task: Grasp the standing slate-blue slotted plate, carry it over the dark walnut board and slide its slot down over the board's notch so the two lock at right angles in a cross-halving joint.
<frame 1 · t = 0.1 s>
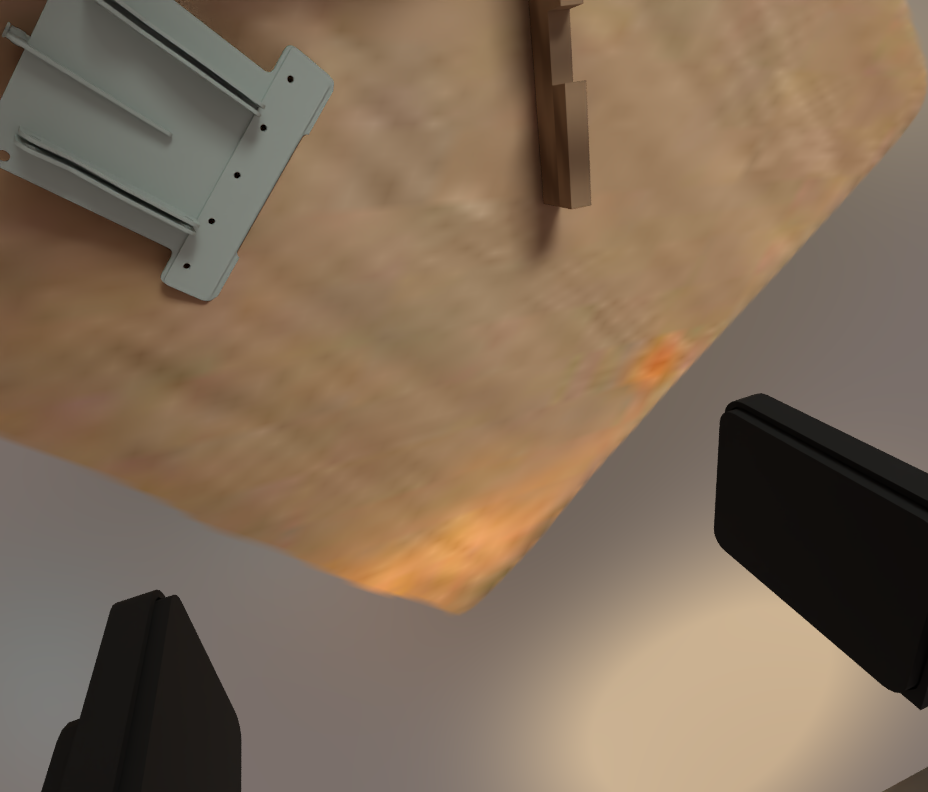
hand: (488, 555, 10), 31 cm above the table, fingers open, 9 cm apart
walnut board: (542, 53, 37), on the table
metal bracket: (164, 128, 32), on the table
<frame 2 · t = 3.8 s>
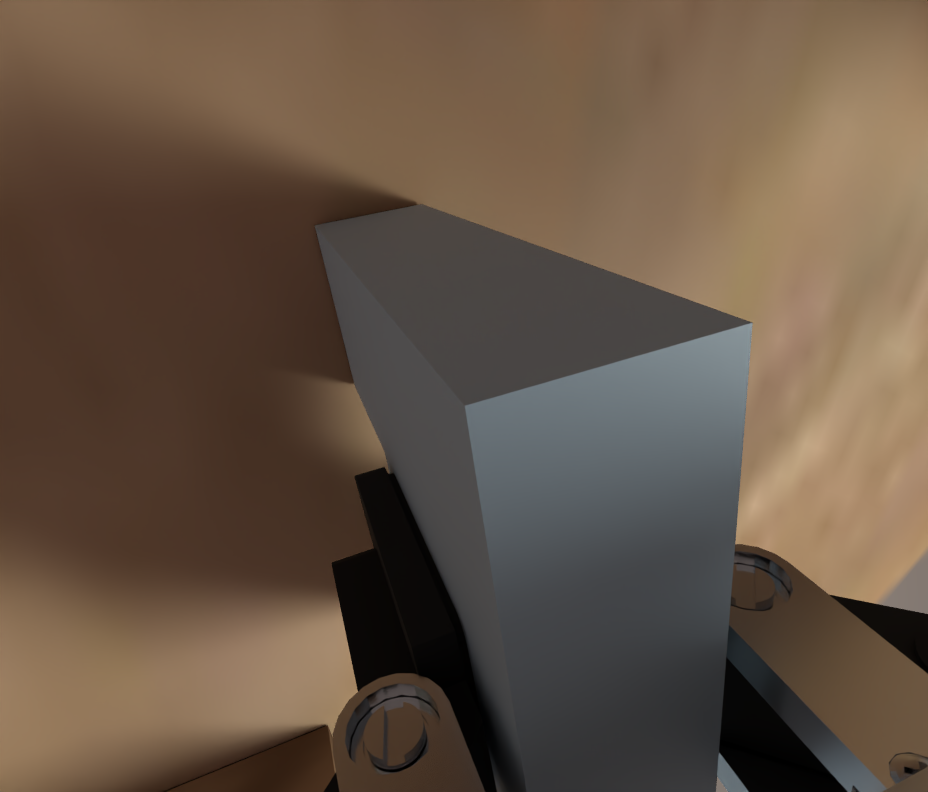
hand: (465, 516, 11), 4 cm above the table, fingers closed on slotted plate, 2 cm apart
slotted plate: (414, 429, 14), on the table, touching gripper
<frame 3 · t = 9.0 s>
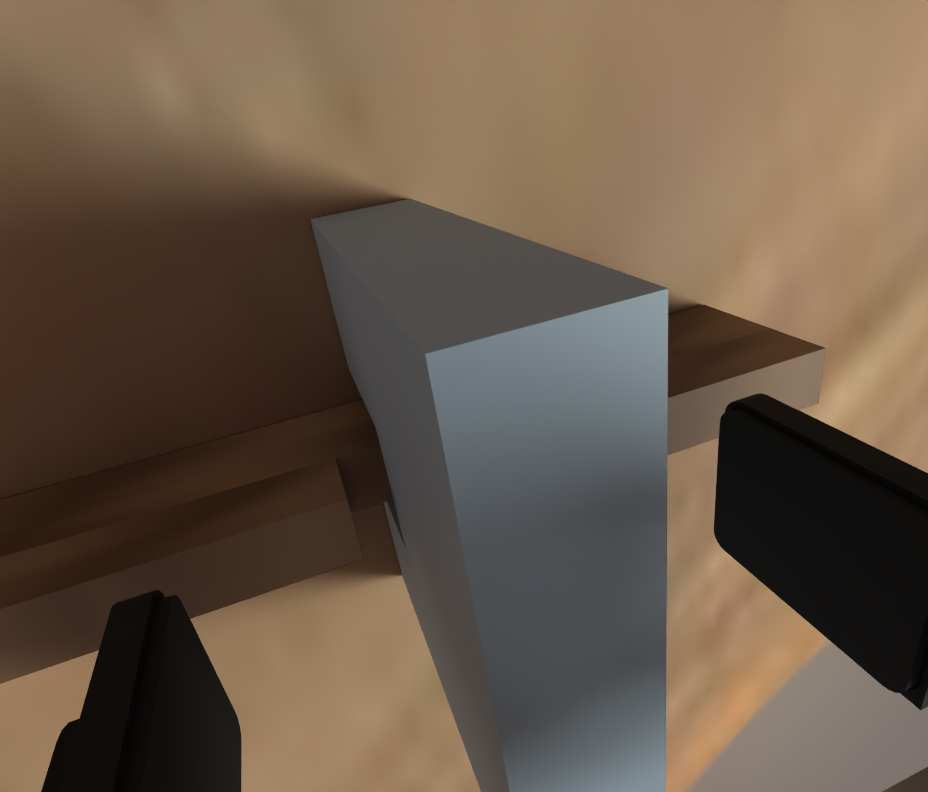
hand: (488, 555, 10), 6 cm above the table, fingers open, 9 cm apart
walnut board: (403, 414, 15), on the table
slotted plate: (405, 412, 15), on the table
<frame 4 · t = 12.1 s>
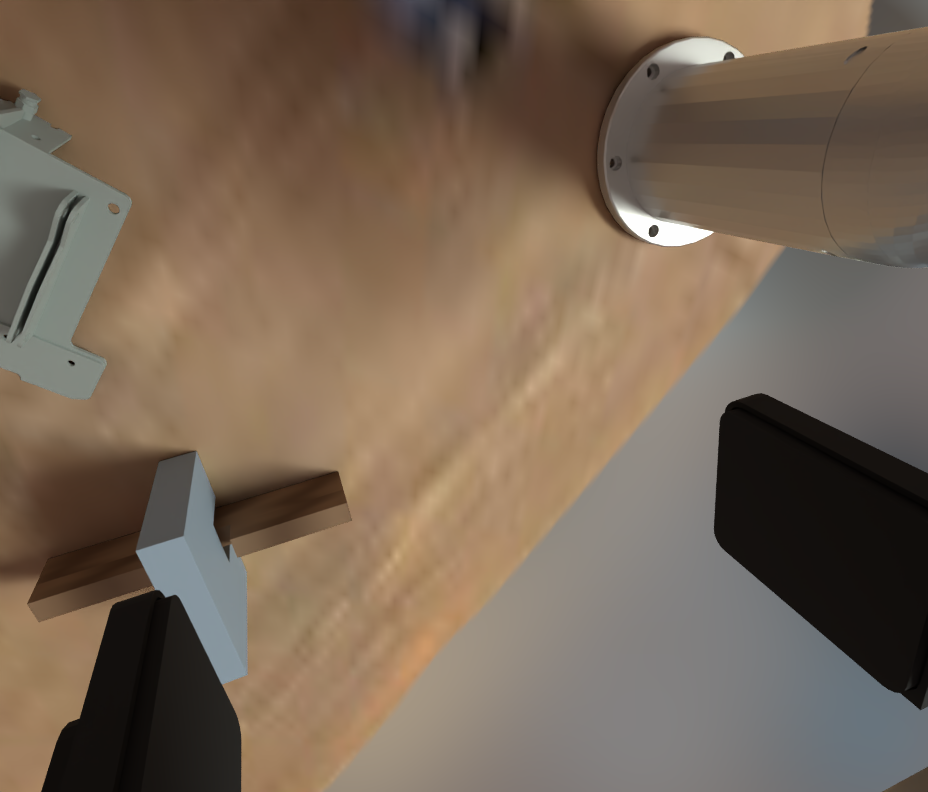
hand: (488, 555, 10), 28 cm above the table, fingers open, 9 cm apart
walnut board: (204, 521, 38), on the table
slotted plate: (205, 520, 38), on the table
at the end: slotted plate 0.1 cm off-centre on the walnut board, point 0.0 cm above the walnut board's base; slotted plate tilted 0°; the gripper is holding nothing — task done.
